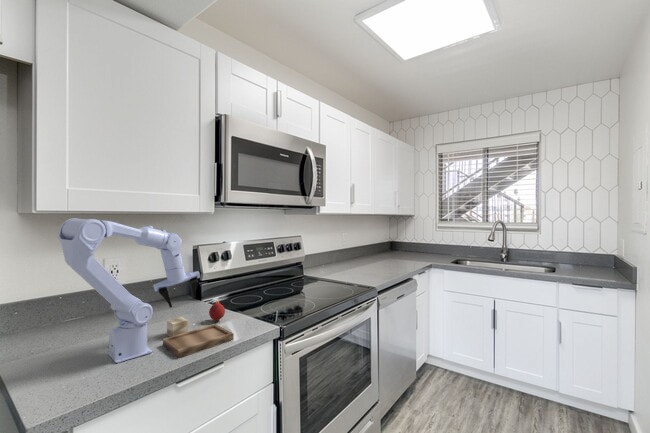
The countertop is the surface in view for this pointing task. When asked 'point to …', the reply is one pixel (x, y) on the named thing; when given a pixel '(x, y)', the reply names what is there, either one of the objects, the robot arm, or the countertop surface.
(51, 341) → the countertop surface
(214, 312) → the onion
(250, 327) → the countertop surface
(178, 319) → the cube
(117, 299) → the robot arm
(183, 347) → the tray
